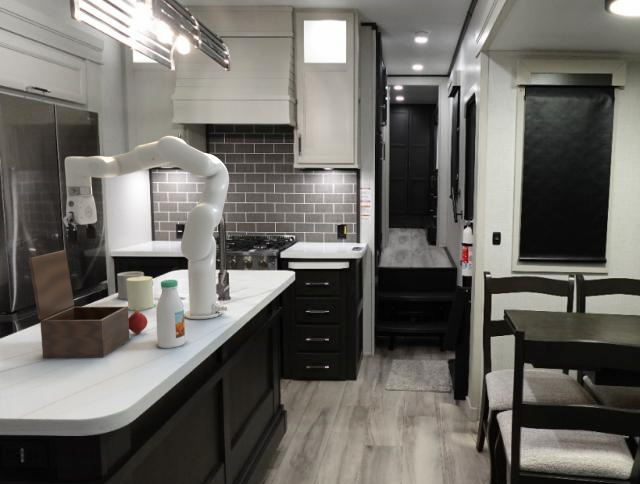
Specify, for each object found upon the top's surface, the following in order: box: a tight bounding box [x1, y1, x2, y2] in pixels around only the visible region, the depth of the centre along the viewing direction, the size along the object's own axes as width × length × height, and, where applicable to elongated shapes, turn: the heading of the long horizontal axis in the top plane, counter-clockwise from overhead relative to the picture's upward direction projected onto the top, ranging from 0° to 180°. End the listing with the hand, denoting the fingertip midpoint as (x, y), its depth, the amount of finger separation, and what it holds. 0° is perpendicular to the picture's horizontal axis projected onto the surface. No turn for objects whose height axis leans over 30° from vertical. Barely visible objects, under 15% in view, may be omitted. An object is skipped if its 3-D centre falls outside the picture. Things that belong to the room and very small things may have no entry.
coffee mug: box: [116, 271, 154, 300], centre depth 211 cm, size 13×10×10 cm
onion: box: [129, 310, 148, 335], centre depth 162 cm, size 6×6×8 cm
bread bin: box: [39, 306, 131, 359], centre depth 147 cm, size 17×16×11 cm
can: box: [127, 275, 155, 311], centre depth 194 cm, size 9×9×12 cm
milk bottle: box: [156, 279, 186, 349], centre depth 151 cm, size 8×8×20 cm
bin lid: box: [28, 249, 75, 320], centre depth 145 cm, size 17×16×1 cm
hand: (82, 240), depth 175 cm, fingers open, 9 cm apart
